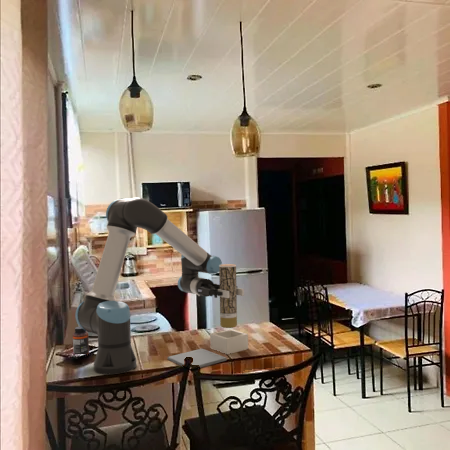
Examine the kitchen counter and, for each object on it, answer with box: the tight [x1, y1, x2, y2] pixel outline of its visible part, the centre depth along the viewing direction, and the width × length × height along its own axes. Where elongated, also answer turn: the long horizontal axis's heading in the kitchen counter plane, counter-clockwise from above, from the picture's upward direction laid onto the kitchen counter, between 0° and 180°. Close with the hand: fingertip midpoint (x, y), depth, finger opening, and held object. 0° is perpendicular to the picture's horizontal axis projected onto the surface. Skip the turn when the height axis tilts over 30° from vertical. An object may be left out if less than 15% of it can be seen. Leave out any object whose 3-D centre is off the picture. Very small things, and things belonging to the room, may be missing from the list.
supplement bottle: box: [72, 325, 90, 356], centre depth 187 cm, size 6×6×11 cm
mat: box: [167, 348, 228, 368], centre depth 177 cm, size 16×16×1 cm
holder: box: [209, 328, 249, 355], centre depth 191 cm, size 11×11×6 cm
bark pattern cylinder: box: [218, 263, 238, 329], centre depth 190 cm, size 7×7×25 cm
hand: (235, 293), depth 186 cm, fingers closed on bark pattern cylinder, 7 cm apart
